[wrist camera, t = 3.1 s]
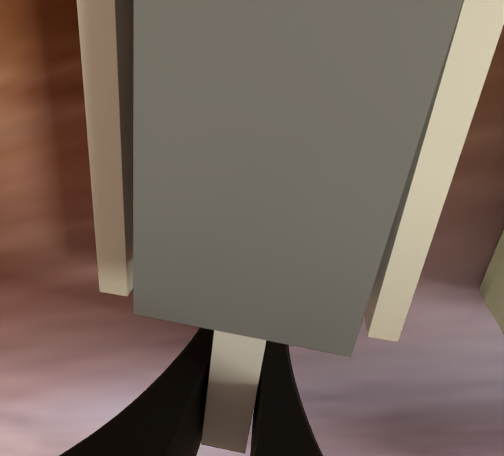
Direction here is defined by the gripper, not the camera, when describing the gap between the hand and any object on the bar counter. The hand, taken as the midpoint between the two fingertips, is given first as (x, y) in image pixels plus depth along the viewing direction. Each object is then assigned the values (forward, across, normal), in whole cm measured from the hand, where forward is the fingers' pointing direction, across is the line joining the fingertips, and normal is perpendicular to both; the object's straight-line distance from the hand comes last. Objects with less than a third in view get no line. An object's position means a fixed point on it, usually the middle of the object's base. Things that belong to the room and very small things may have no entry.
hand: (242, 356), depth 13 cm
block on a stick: (+2, 0, -5) cm, 5 cm away
